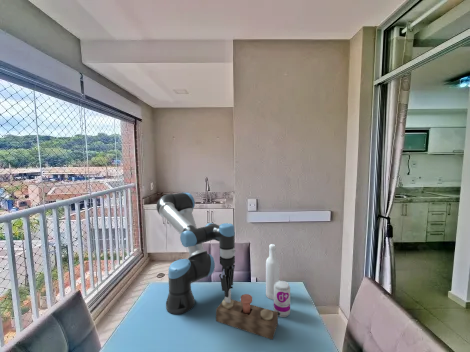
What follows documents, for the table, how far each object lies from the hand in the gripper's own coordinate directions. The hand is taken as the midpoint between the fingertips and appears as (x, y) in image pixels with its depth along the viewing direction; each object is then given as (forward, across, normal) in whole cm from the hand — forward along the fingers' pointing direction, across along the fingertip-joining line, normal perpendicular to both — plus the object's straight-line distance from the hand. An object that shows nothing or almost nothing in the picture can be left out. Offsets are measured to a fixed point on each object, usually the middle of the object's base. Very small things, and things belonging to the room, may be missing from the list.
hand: (227, 301), depth 109 cm
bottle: (+8, +26, -16) cm, 32 cm away
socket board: (+8, 0, -10) cm, 13 cm away
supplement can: (+8, +14, -24) cm, 29 cm away
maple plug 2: (+7, 0, -20) cm, 21 cm away
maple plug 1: (+7, 0, 0) cm, 7 cm away
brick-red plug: (+2, 0, -10) cm, 10 cm away
